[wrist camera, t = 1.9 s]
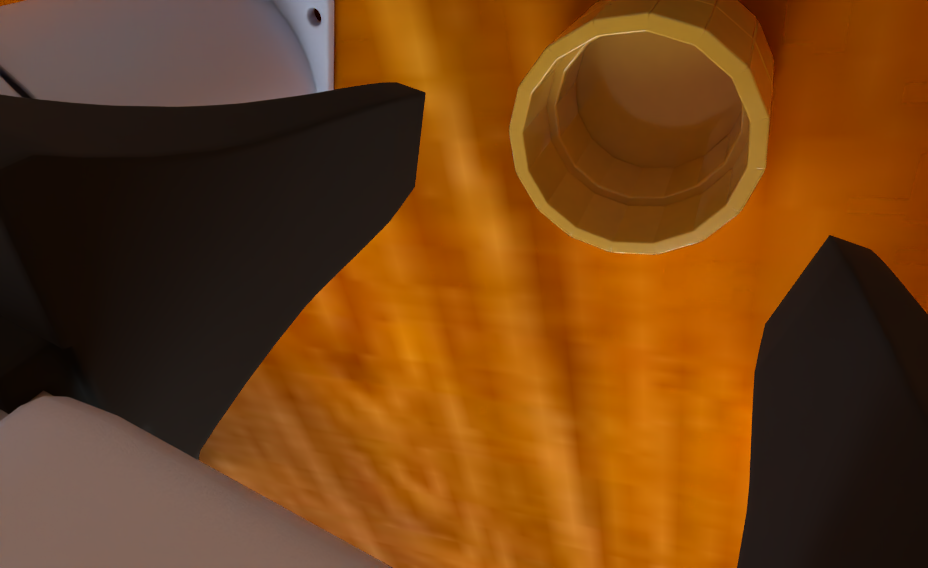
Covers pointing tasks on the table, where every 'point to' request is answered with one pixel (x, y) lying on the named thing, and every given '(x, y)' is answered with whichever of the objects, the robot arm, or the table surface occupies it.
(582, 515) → the table surface
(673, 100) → the bowl
